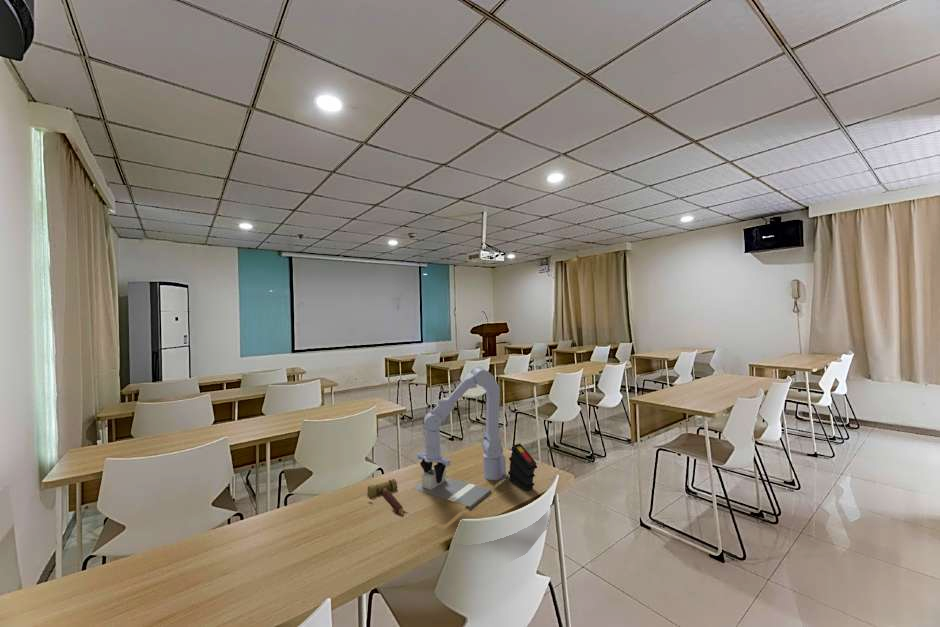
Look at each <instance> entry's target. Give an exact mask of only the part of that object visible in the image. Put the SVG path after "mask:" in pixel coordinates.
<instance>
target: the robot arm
mask: <svg viewBox="0 0 940 627" xmlns="http://www.w3.org/2000/svg"><path fill="white" fill-rule="evenodd" d="M477 385H478V386H480V387H481V388H483V389H484V391H486V395H485V396H486V402H485V403H486V404H485V409H486V410H485V431H484V433H483V439H481V440H482V441H481V448H482V449H483V450H484V452H483V454H482V457H483V459H482V460H483V461H482V462H483V477H484V479H486V480H488V481H496V482H495V483H494V484H495V485H498V484H499V483H500V482H502V481H503V480H504V479H505V478H507V477H508V476H509V474H508V473H507V463H506V462H507V461H506V457H505V455H504V454H503V453H504V448H503V446H502V441H501V436H500V432H499V429H500V427H499V426H500V394H501V393H500V389H501V388H500V386H499V383H498V382H497V381H496V379H495V377H494V374H492V373H491V372H489V371H488V370H486V369H484V368H482V367H481V366H476V367H475V366H474V367H473V368H472V369H471V371H470V372H468V373H467V374H466V375H465V376H464V378H463V379H462V380H461V382H460V383H459V384H458V385H457V386H456V387H455V389H454V390H453V391H452V392H451V393H450V395H449V396H448V397H443V398H442V399H439V400H438V401H437V402H438V403H437V404H436V406H435V407H434V408H432V409H430V410H429V412H428V413H426V414H425V415H424V418H423V419H422V420H423V425H425V427H424V428H425V429H424V432H425V433H424V441H425V442H424V443H425V444H424V447H425V448H424V449H425V452H419V453H417V454H416V456H417V457H416V459H417V460H421V462H420V463H419V465H420V466H421V468H422V470H423V472H424V474H425V473H426V472H428V471H430V470H431V469H433V468H434V469H435V472H436V481H437V483H440V482H441V481H442V476H443V473H444V470H445V469H446V467H448V466H450V465H451V459H449V458H447V457H446V456H443V455H441V454H442V453H441V452H442V451H441V450H442V449H441V432H440V428H441V426H442V422H443V421H445V419H447V417H448V416H449V415H450V414H451V413H452V412H453V410H454V409H455V403H456V402H457V401H458V400H460V398H461V397H462V396H463V395H465V393H467V391H469V390H471V389H476V388H478V386H477ZM434 463H436V464H435V465H433V464H434Z"/></svg>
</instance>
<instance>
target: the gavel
mask: <svg viewBox="0 0 940 627" xmlns="http://www.w3.org/2000/svg"><path fill="white" fill-rule="evenodd" d="M397 490H398V483H397V480H396V479H395V478H392V479H389V480H388V481H384V482H381V483H377V484H371V485H368V486H367V494H368V496H370V498H369V499H370V500H372V498H373V497H377V496H378V495H383V497H384V498H385V500H386V501H387V502H388V504H389V505H390V506H391V507H392V509H393V510H394V512H395V513H397V514H399V515H402V516H403V515H404V514H405V513H404V507H403V506H402V504H401V503H400V502H399V501H398V500H397V498H396V497H395V496H394V494H392V492H394V491H397ZM391 491H392V492H391Z"/></svg>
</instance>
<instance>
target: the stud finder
mask: <svg viewBox="0 0 940 627" xmlns="http://www.w3.org/2000/svg"><path fill="white" fill-rule="evenodd" d="M446 477H447V472H446V468H445V470H444V473H443V476H442V481H441V482H440V483H437V481H436V472H435V469H434V467H432V469H431V470H430V471H428V472H426V473H425V472H424V473H422V474H421V483H422V487H423V488H427V489H430V490H432V489H433V488H435V487H436V486H438V485H439V484H441V483H443V482H444V481H446Z"/></svg>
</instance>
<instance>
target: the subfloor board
mask: <svg viewBox="0 0 940 627" xmlns="http://www.w3.org/2000/svg"><path fill="white" fill-rule="evenodd" d="M411 489H412V490H416V491H419V492H421V493H425V494H428V495H431V496H435V497H439V498H440V499H444V500H448V501H452V502H453V503H457V504H461V505H464V506H465V507H464V508H465V509H467V508H468V509H467V510H471V509H472V508H473V507H475V506H476V505H477V504H478V503H480V502H481V501H482V500H483V499H485V498H486V497H487V496H488V495H489V494H490V493H492V489H491V488H487V487H483V486H479V485H476V484H472V483H468V482H465V481H462V480H458V479H454V478H450V477H447V476H446V481H444V482H443V483H441V484H439V485H438V486H436V487H435V488H433V489H432V490H430V489H427V488H423V487H422V482H420V483H418V484H417V485H415V486H414V487H412V488H411Z"/></svg>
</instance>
